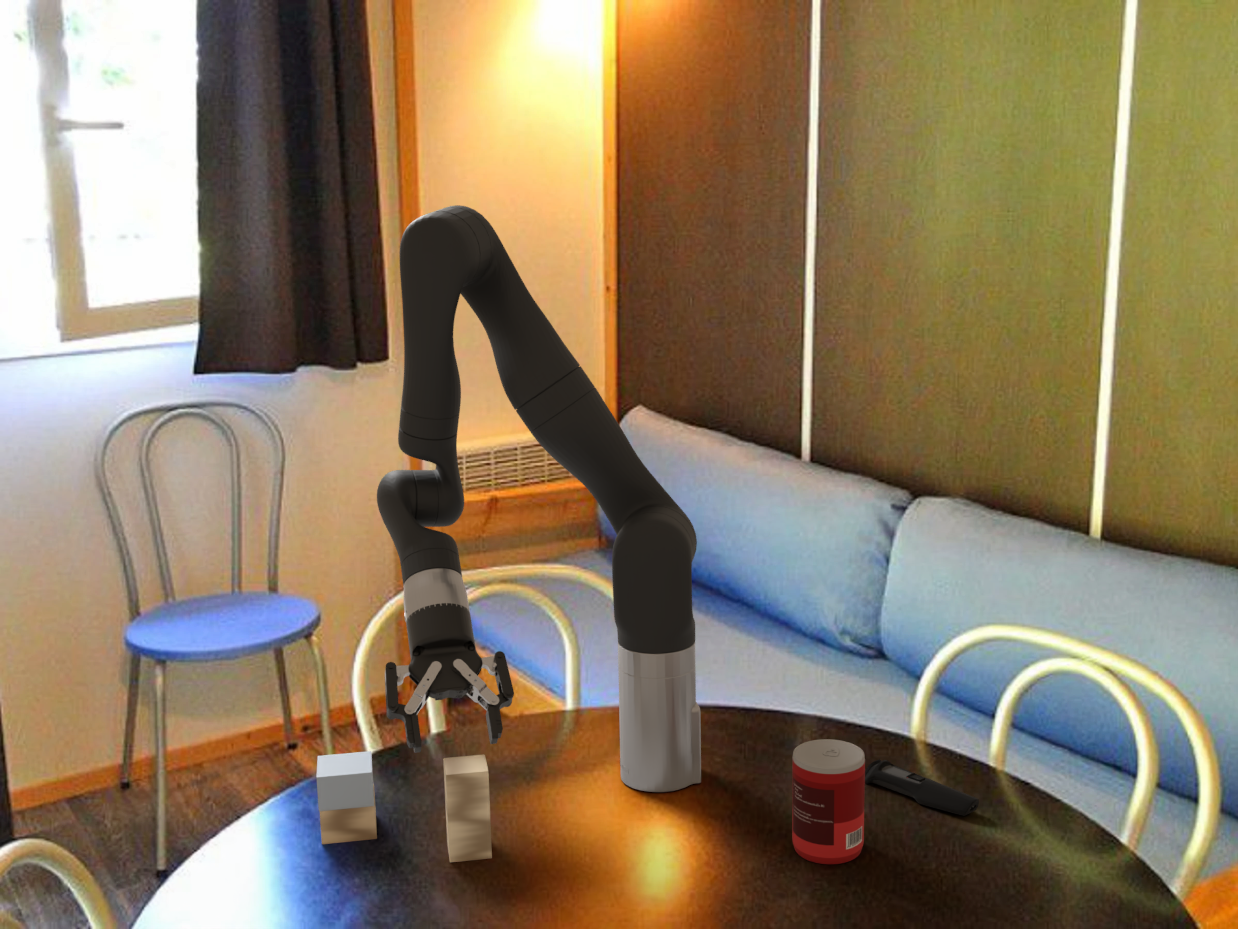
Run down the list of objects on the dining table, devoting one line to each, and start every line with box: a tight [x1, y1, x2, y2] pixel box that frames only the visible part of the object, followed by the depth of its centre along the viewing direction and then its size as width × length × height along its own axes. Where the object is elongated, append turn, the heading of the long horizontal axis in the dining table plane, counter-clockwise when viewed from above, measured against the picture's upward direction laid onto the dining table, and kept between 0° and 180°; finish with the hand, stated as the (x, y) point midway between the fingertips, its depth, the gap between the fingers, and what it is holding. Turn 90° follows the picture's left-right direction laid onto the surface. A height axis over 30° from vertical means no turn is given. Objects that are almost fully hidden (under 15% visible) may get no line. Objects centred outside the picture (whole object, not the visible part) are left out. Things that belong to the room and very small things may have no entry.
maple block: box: [442, 754, 493, 863], centre depth 153 cm, size 4×4×10 cm
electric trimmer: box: [865, 758, 980, 816], centre depth 165 cm, size 4×16×3 cm, turn 40°
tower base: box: [319, 783, 378, 845], centre depth 160 cm, size 6×6×4 cm
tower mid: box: [315, 750, 375, 812], centre depth 159 cm, size 6×6×4 cm
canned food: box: [791, 738, 866, 865], centre depth 152 cm, size 8×8×11 cm
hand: (456, 745), depth 158 cm, fingers open, 8 cm apart
